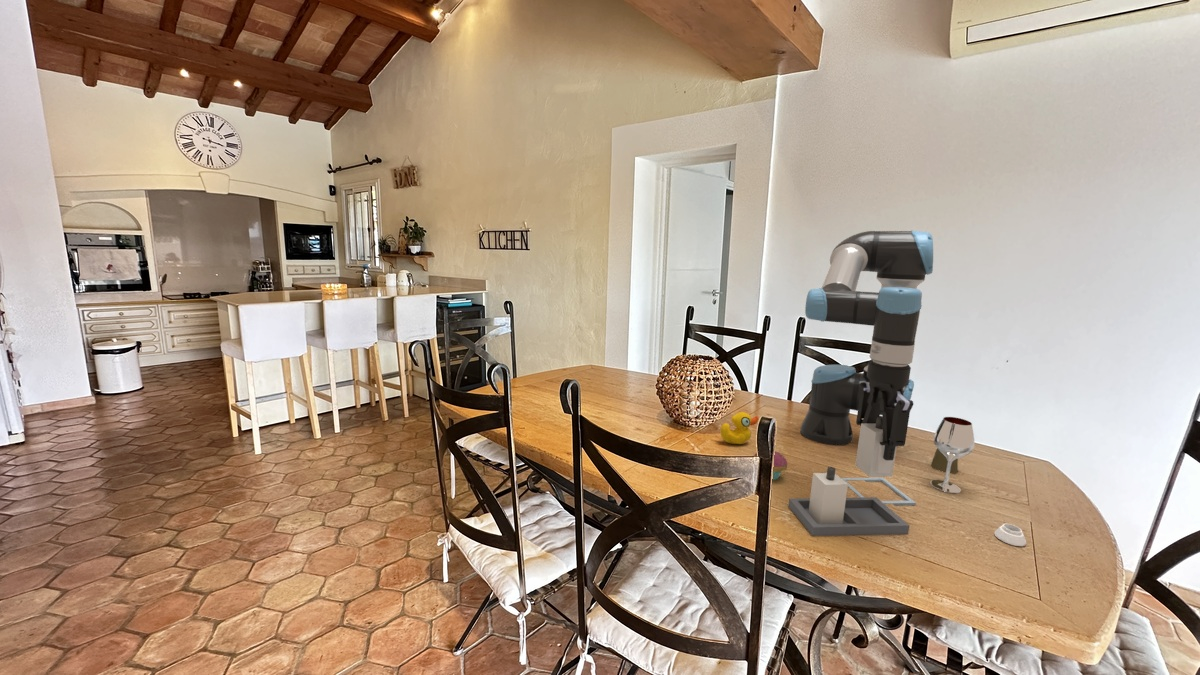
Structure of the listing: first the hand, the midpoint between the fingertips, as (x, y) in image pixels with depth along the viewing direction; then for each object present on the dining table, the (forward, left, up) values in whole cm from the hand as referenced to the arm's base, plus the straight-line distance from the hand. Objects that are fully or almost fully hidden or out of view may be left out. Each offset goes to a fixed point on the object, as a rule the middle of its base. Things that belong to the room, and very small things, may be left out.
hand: (874, 465), depth 100 cm
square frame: (-12, +10, -14) cm, 21 cm away
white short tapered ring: (+7, +27, -14) cm, 31 cm away
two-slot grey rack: (0, -5, -14) cm, 14 cm away
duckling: (-41, -15, -14) cm, 46 cm away
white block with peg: (0, 0, -1) cm, 1 cm away
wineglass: (-14, +30, -14) cm, 36 cm away
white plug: (0, -9, -13) cm, 16 cm away
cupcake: (-20, -14, -14) cm, 28 cm away
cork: (-24, +38, -14) cm, 47 cm away
